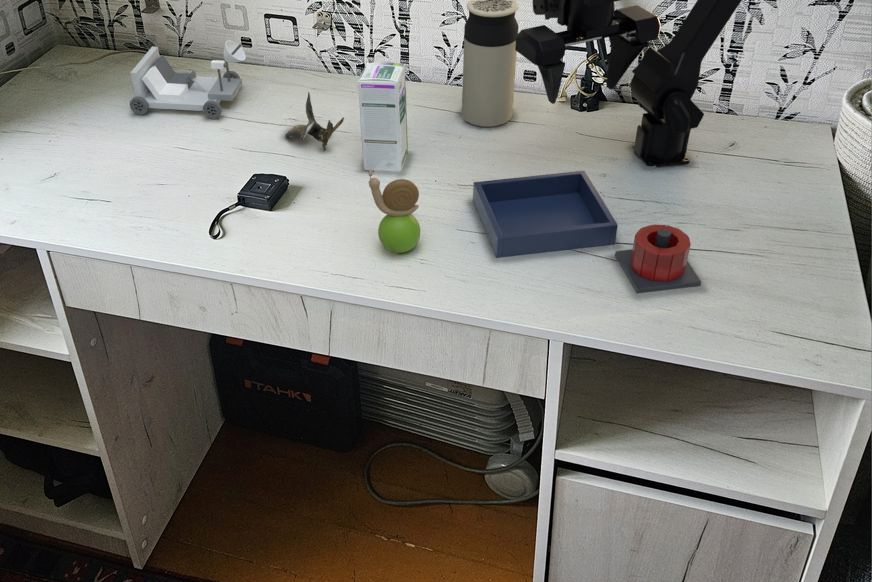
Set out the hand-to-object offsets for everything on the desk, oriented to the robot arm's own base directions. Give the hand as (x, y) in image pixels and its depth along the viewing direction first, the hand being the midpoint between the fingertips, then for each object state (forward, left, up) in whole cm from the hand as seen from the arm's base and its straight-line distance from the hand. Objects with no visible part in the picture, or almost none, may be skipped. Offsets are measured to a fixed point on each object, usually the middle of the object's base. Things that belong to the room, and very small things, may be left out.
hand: (581, 95), depth 128 cm
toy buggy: (+54, -34, -12) cm, 65 cm away
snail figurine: (+28, +14, -12) cm, 34 cm away
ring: (-3, +25, -11) cm, 27 cm away
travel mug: (+8, -19, -12) cm, 24 cm away
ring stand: (-3, +25, -12) cm, 28 cm away
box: (+8, +12, -12) cm, 19 cm away
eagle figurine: (+36, -17, -12) cm, 42 cm away
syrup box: (+26, -8, -12) cm, 30 cm away
